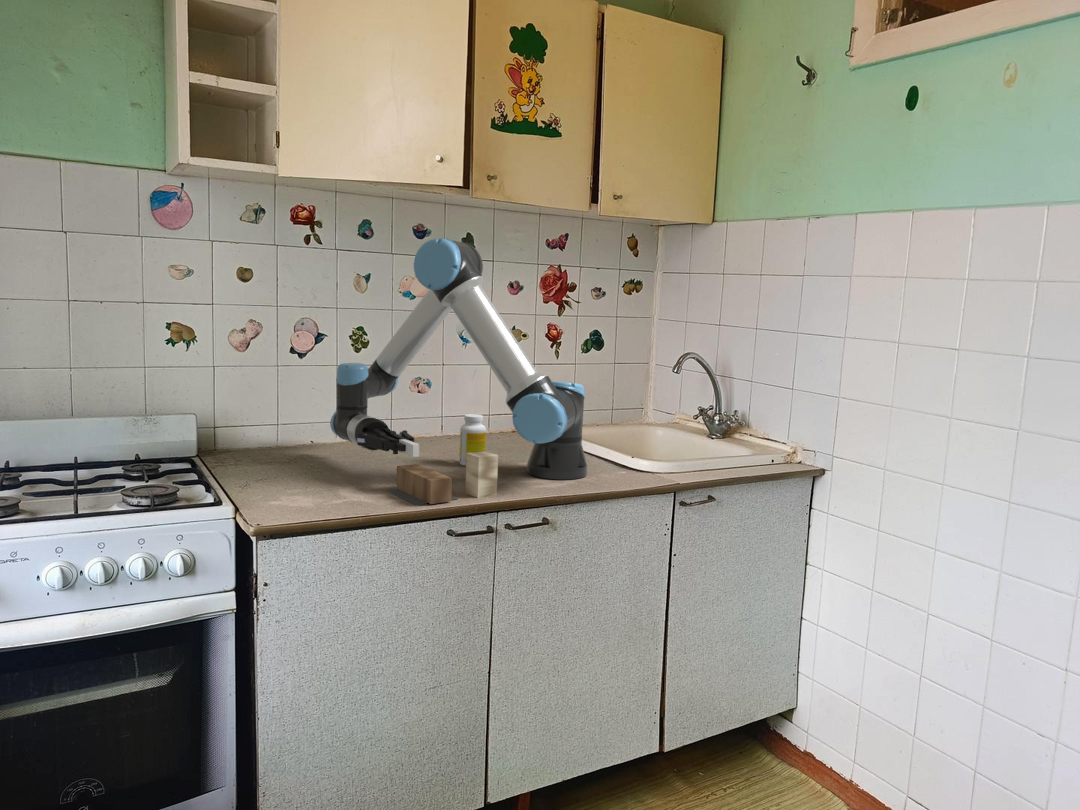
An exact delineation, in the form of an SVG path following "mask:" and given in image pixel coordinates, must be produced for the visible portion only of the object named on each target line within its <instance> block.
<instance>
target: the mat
mask: <svg viewBox="0 0 1080 810" xmlns="http://www.w3.org/2000/svg"><path fill="white" fill-rule="evenodd" d="M386 491H387V492H388V493H390V494H391V495H394V496H396V497H398V498H400V499H402V500H404V501H407V502H408V503H410V504H412V505H414V504H415V505H414V506H416V505H417V506H422V505H421V504H423V505H428V504H427V502H425V501H423V500H420V499H418V498H416V497H414V496H412V495H410V494H408V493H406V492H404V491H402V490H399V489H397V488H392V489H387V490H386ZM455 500H458V497H456V496H454V495H452V494H451V501H455Z"/></svg>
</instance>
